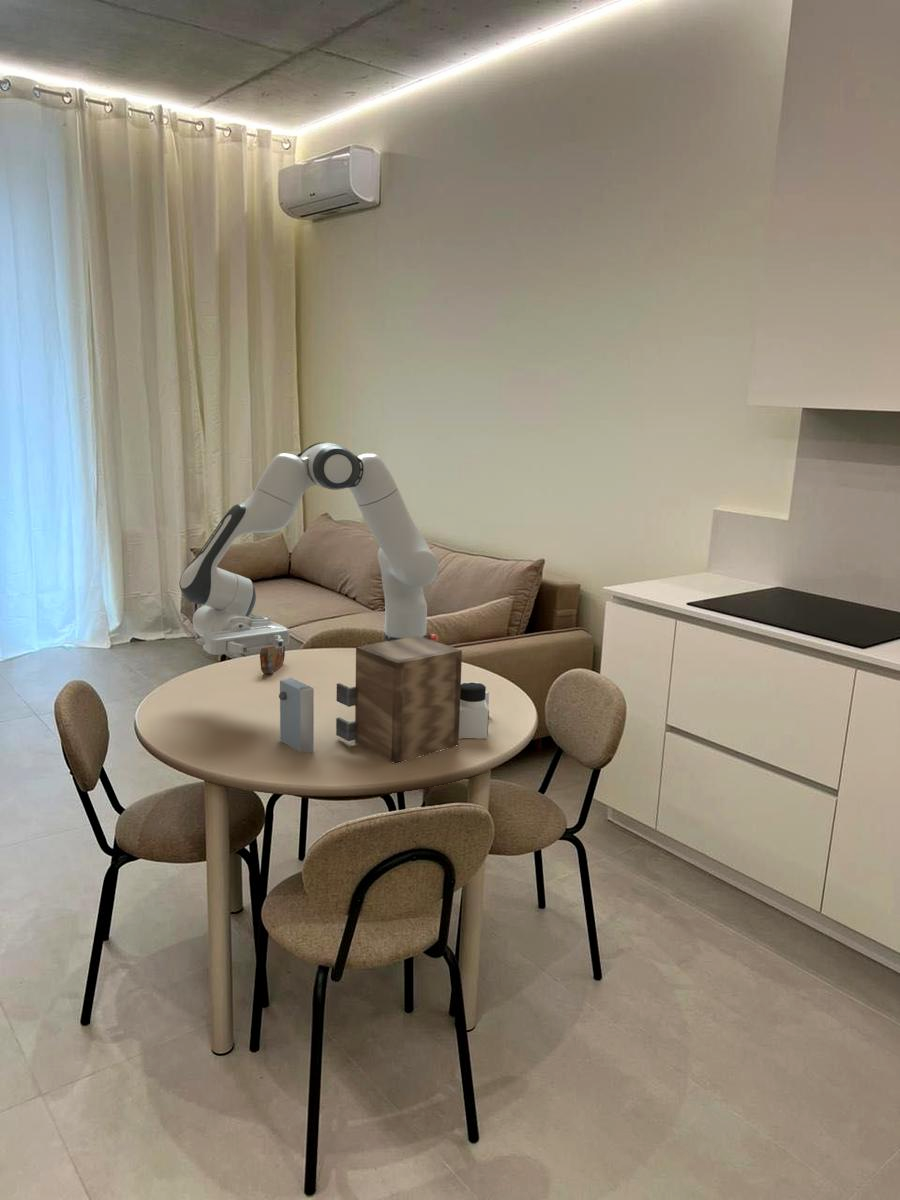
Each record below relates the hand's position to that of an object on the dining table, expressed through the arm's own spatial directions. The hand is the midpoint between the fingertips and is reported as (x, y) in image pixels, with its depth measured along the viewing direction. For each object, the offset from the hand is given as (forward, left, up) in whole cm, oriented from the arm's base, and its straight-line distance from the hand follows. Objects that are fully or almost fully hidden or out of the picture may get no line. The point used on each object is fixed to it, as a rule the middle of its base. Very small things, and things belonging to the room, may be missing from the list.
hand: (262, 646), depth 202 cm
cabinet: (-19, +26, -19) cm, 37 cm away
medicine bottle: (-36, +31, -19) cm, 52 cm away
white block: (-45, +21, -19) cm, 54 cm away
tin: (-24, -39, -19) cm, 50 cm away
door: (0, +15, -19) cm, 24 cm away
